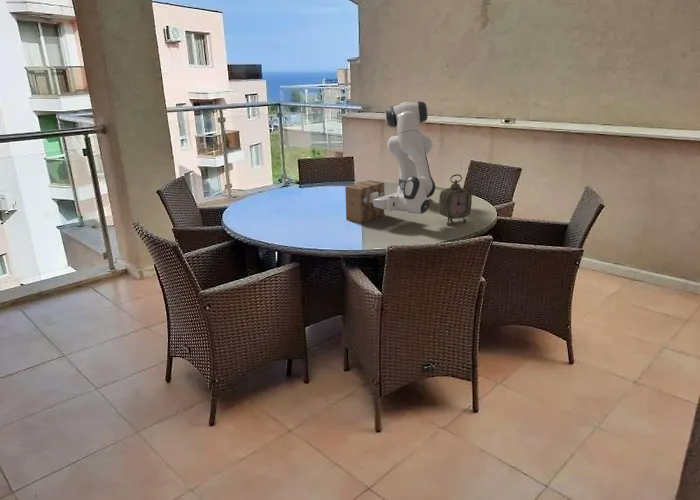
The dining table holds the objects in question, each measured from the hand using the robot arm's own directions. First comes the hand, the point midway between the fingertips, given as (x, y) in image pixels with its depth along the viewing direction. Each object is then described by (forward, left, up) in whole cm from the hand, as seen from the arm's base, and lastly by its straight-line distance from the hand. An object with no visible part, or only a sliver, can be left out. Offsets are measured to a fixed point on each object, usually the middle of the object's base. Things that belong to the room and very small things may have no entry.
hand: (377, 197), depth 251 cm
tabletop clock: (-20, +34, -12) cm, 41 cm away
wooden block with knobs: (0, -8, -12) cm, 14 cm away
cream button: (0, -4, -3) cm, 5 cm away
